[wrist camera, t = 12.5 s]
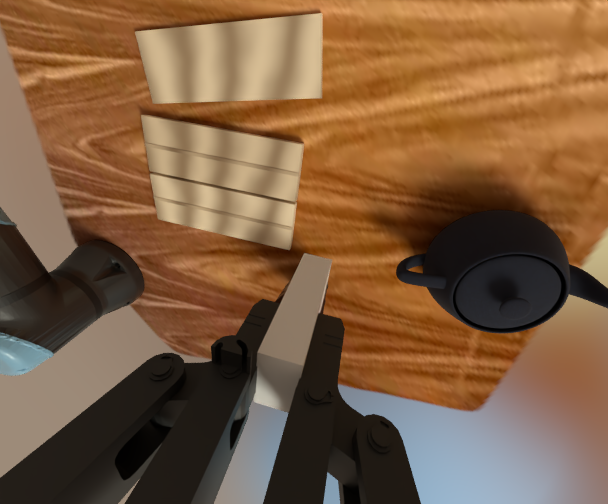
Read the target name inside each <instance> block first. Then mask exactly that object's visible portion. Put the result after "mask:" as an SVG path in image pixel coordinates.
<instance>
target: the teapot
mask: <svg viewBox="0 0 608 504" xmlns="http://www.w3.org/2000/svg"><path fill="white" fill-rule="evenodd" d="M501 255H502V256H501ZM497 256H501V257H497ZM493 257H496V258H493ZM490 258H493V259H490ZM487 259H490V260H487ZM485 260H487V261H485ZM483 261H484V262H483ZM481 262H482V263H481ZM479 263H480V264H479ZM477 264H478V265H477ZM420 265H423V273H417V272H412V271H408V269H410V268H412V267H416V266H420ZM475 265H477V266H475ZM474 266H475V267H474ZM472 267H474V268H472ZM471 268H472V269H471ZM469 269H471V270H470V271H468V270H469ZM396 275H397V277H398V279H399V280H401V281H402V282H405V283H408V284H412V285H418V286H425V287H427V288H428V290H429V292H430V294H431V295H432V297H433V298H434V299H435V300H436V301H437V303H438V304H439V305H440V306H441V307H442V308H444V309H445V310H446V311H447V312H448V313H450V314H451V315H452V316H454V317H455V318H457V319H458V320H460V321H461V322H463V323H464V324H466V325H468V326H470V327H472V328H474V329H477V330H480V331H484V332H490V333H514V332H520V331H524V330H527V329H531V328H533V327H536V326H538V325H540V324H542V323H544V322H546V321H547V320H549V319H550V318H551V317H553V316H554V315H555V314H556V313H557V312H558V311H559V310H560V308H562V306H563V305H564V303H565V302H566V299H567V297H568V295H569V294H570V295H573V296H577V297H580V298H583V299H586V300H588V301H591V302H593V303H596V304H598V305H601V306H603V307H606V308H608V288H606V287H605V286H604V285H603V284H601V283H600V282H599V281H598V280H596V279H595V278H594V277H593V276H591V275H590V274H588V273H587V272H585V271H584V270H582V269H580V268H578V267H575V266H573V265H570V264H569V262H568V258H567V254H566V251H565V249H564V246H563V244H562V243H561V241H560V239H559V238H558V236H557V235H556V234H555V233H554V232H553V230H552V229H550V228H549V227H548V226H547V225H546V224H544V223H543V222H542V221H540V220H538V219H536V218H534V217H532V216H530V215H527V214H524V213H520V212H515V211H507V210H492V211H484V212H479V213H475V214H471V215H468V216H466V217H463V218H461V219H459V220H457V221H455V222H453V223H452V224H450V225H449V226H447V227H446V228H445V229H443V230H442V231H441V232H440V233H439V234H438V235H437V236H436V237H435V239H434V240H433V241H432V243H431V244H430V246H429V248H428V250H427V252H426V254H420V255H415V256H411V257H408V258H406V259H404V260H403V261H401V262H400V263H399V265H398V266H397V270H396Z"/></svg>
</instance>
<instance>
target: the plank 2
mask: <svg viewBox="0 0 608 504" xmlns="http://www.w3.org/2000/svg"><path fill="white" fill-rule="evenodd" d="M150 178H151V183H152V189H153V194H154V196H153V197H154V200H155V205H156V211H157V216H158V219H160V220H164V221H168V222H172V223H176V224H181V225H185V226H189V227H193V228H197V229H202V230H206V231H210V232H214V233H219V234H223V235H227V236H231V237H235V238H240V239H244V240H248V241H252V242H257V243H261V244H265V245H269V246H273V247H278V248H282V249H286V250H290V249H291V246H292V238H293V230H294V222H295V214H296V206H297V202H293V201H288V200H284V199H279V198H274V197H270V196H265V195H260V194H255V193H251V192H246V191H241V190H237V189H232V188H227V187H222V186H218V185H213V184H208V183H204V182H199V181H194V180H189V179H185V178H180V177H175V176H171V175H166V174H161V173H157V172H154V173H151V174H150Z"/></svg>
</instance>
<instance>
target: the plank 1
mask: <svg viewBox="0 0 608 504" xmlns="http://www.w3.org/2000/svg"><path fill="white" fill-rule="evenodd" d="M322 29H323V15H322V13H318V14H308V15H298V16H288V17H278V18H268V19H257V20H247V21H237V22H227V23H217V24H207V25H197V26H187V27H177V28H167V29H156V30H146V31H136V32H135V34H136V38H137V42H138V46H139V50H140V54H141V58H142V61H143V65H144V69H145V73H146V77H147V81H148V85H149V89H150V93H151V97H152V101H153V103H186V102H217V101H247V100H278V99H308V98H322Z"/></svg>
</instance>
